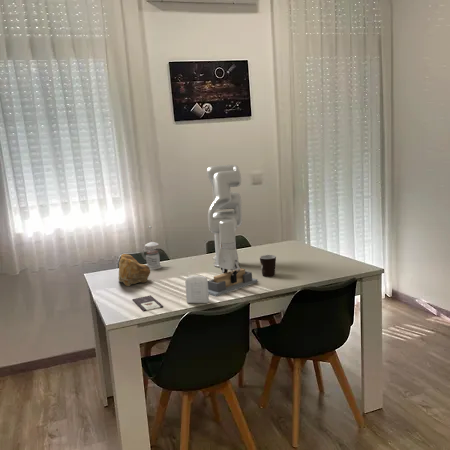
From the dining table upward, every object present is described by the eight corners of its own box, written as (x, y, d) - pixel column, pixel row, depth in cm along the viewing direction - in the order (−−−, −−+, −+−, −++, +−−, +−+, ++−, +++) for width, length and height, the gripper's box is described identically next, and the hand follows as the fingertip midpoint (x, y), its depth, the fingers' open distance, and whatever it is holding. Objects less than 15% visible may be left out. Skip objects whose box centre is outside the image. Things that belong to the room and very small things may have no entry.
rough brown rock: (151, 288, 235) (151, 259, 233) (118, 289, 231) (117, 260, 229) (148, 277, 257) (148, 251, 255) (118, 278, 253) (118, 252, 252)
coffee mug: (276, 277, 236) (275, 258, 234) (259, 277, 238) (258, 259, 236) (278, 271, 247) (277, 253, 245) (262, 271, 249) (261, 253, 247)
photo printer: (209, 300, 208) (208, 274, 206) (208, 303, 204) (206, 276, 202) (187, 300, 210) (185, 274, 207) (185, 303, 205) (183, 277, 203)
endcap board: (202, 292, 220) (201, 281, 219) (243, 278, 238) (243, 268, 237) (215, 296, 212) (215, 285, 212) (257, 281, 231) (257, 271, 230)
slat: (214, 288, 220) (213, 276, 219) (241, 279, 232) (240, 268, 231) (218, 289, 218) (217, 277, 217) (245, 280, 230) (244, 269, 229)
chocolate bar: (150, 295, 219) (163, 305, 203) (150, 297, 219) (163, 308, 203) (132, 299, 215) (143, 310, 199) (132, 301, 215) (143, 312, 199)
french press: (157, 269, 266) (153, 227, 262) (139, 269, 270) (135, 227, 266) (164, 265, 275) (161, 224, 271) (147, 264, 279) (143, 224, 275)
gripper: (210, 245, 225) (213, 280, 229) (234, 249, 213) (236, 286, 216) (222, 242, 230) (224, 277, 234) (245, 246, 218) (247, 282, 221)
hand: (230, 281), depth 225 cm, fingers open, 4 cm apart
